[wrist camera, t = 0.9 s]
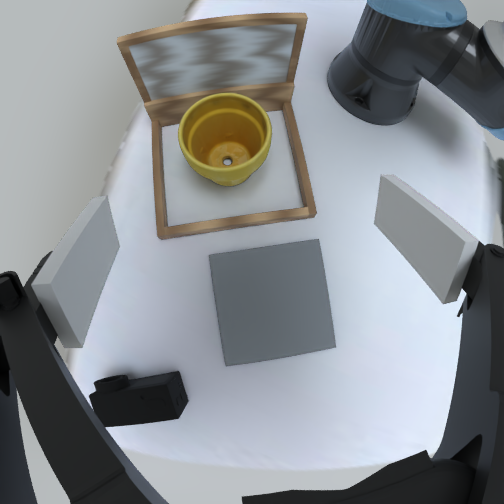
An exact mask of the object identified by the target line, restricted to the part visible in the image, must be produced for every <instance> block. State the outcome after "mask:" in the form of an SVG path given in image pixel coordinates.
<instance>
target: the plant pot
mask: <svg viewBox="0 0 504 504" xmlns="http://www.w3.org/2000/svg"><path fill="white" fill-rule="evenodd" d="M271 137H272V127H271V122H270V119H269V117H268V115H267V113H266V112H265V110H264V109H263V108H262V107H261V106H260V105H259V104H258V103H257V102H256V101H254V100H252V99H251V98H249V97H246V96H244V95H240V94H236V93H218V94H213V95H210V96H207V97H205V98H203V99H201V100H199V101H197V102H196V103H195V104H193V105H192V106H191V107H190V108H189V109H188V110H187V111H186V113H185V114H184V116H183V117H182V119H181V122H180V125H179V129H178V140H179V144H180V147H181V150H182V152H183V154H184V157H185V158H186V160H187V162H188V164H189V165H190V166H191V167H192V169H193V170H195V171H196V172H197V173H198V174H200V175H202V176H203V177H205V178H208V179H211V180H212V181H214V182H215V183H217V184H219V185H223V186H235V185H238V184H240V183H242V182H244V181H245V180H246V179H248V178H249V176H250V175H251V174H252V173H253V172H255V171H256V170H257V169H258V168H259V167H260V166H261V165H262V164H263V162H264V161H265V159H266V157H267V155H268V152H269V148H270V144H271ZM226 158H230V159H231V160H232V163H231V165H224V164H223V160H224V159H226Z"/></svg>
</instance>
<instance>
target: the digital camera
mask: <svg viewBox="0 0 504 504" xmlns="http://www.w3.org/2000/svg"><path fill="white" fill-rule="evenodd" d="M94 385H95V388H96V391H95V392H94V393H92V394H90V395H89V398H90V401H91V404H92V407H93V410H94V412H95V414H96V415H97V417H98V418H99V420H100V421H101V423H102V424H103V425H104V427H114V426H125V425H136V424H145V423H153V422H160V421H167V420H174V419H179V417H180V416H181V414H182V412H183V410H184V408H185V407H186V405H187V403H188V398H187V394H186V391H185V388H184V385H183V382H182V378H181V375H180V372H179V371H177V372H171V373H166V374H161V375H155V376H149V377H144V378H138V379H131V380H128V377H127V375H117V376H112V377H107V378H104V379H100V380H97V381H95V382H94Z"/></svg>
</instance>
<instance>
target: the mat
mask: <svg viewBox="0 0 504 504" xmlns="http://www.w3.org/2000/svg"><path fill="white" fill-rule="evenodd" d="M209 258H210V266H211V273H212V280H213V287H214V294H215V301H216V308H217V314H218V321H219V327H220V334H221V340H222V346H223V352H224V358H225V364H226V366H232V365H239V364H246V363H253V362H260V361H266V360H272V359H278V358H284V357H289V356H295V355H300V354H305V353H311V352H316V351H321V350H325V349H330V348H335V347H336V343H335V336H334V328H333V321H332V315H331V308H330V301H329V295H328V289H327V282H326V276H325V271H324V265H323V259H322V253H321V248H320V242H319V239H315V240H308V241H301V242H294V243H288V244H281V245H274V246H267V247H260V248H253V249H246V250H240V251H233V252H226V253H219V254H212V255H209Z"/></svg>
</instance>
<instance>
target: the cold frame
mask: <svg viewBox="0 0 504 504" xmlns="http://www.w3.org/2000/svg"><path fill="white" fill-rule="evenodd" d="M307 19H308V18H307V15H306V13H262V14H245V15H233V16H224V17H215V18H207V19H200V20H194V21H188V22H182V23H176V24H171V25H166V26H161V27H157V28H152V29H148V30H144V31H140V32H136V33H132V34H128V35H125V36H121V37H118V39H117V45H118V47H119V49H120V51H121V54H122V56H123V58H124V60H125V62H126V64H127V67H128V69H129V71H130V73H131V75H132V77H133V80H134V81H135V84H136V86H137V88H138V90H139V92H140V95H141V97H142V99H143V101H144V107H145V109H146V111H147V113H148V115H149V117H150V119H151V121H152V157H153V180H154V197H155V212H156V225H157V236H158V237H159V238H160V239H161V240H162V239H169V238H175V237H181V236H188V235H194V234H201V233H207V232H214V231H221V230H228V229H234V228H241V227H248V226H255V225H262V224H270V223H277V222H284V221H292V220H299V219H307V218H314V216H315V215H316V214H317V212H316V207H315V202H314V197H313V193H312V188H311V183H310V179H309V174H308V170H307V166H306V161H305V157H304V153H303V149H302V144H301V140H300V136H299V132H298V128H297V124H296V120H295V116H294V113H293V109H292V105H291V99H292V95H293V90H294V78H295V74H296V69H297V65H298V60H299V55H300V51H301V46H302V42H303V37H304V33H305V28H306V24H307ZM218 93H236V94H240V95H244V96H246V97H249V98H251V99H252V100H254V101H256V102H257V103H258V104H259V105H260V106H261V107H262V108H263V109H264V110H265V112H267V111H278V110H283V114H284V118H285V123H286V127H287V131H288V135H289V140H290V144H291V148H292V153H293V157H294V162H295V166H296V171H297V176H298V180H299V185H300V190H301V195H302V200H303V205H304V207H303V208H295V209H287V210H279V211H272V212H264V213H257V214H250V215H243V216H236V217H229V218H222V219H215V220H209V221H202V222H196V223H189V224H183V225H177V226H171V227H168V224H167V213H166V200H165V187H164V171H163V152H162V127H164V126H169V125H174V124H179V123H180V122H181V119H182V117H183V116H184V114H185V113H186V111H187V110H188V109H189V108H190V107H191V106H192V105H193V104H195V103H196V102H197V101H199V100H201V99H203V98H205V97H207V96H210V95H213V94H218Z"/></svg>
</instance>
